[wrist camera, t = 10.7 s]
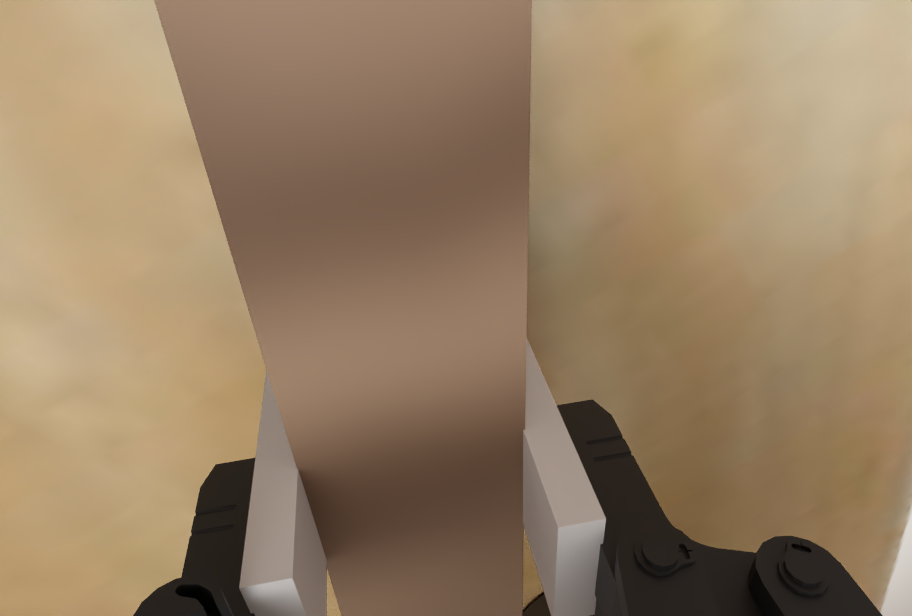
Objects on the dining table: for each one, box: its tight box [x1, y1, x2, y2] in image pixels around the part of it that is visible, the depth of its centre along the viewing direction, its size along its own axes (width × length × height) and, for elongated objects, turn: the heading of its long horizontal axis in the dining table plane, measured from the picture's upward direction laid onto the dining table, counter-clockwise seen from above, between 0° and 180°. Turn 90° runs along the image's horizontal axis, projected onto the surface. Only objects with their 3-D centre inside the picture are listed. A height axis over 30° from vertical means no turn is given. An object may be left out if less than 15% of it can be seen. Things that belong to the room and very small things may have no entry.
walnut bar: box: [154, 0, 532, 616], centre depth 13 cm, size 20×4×5 cm, turn 3°
